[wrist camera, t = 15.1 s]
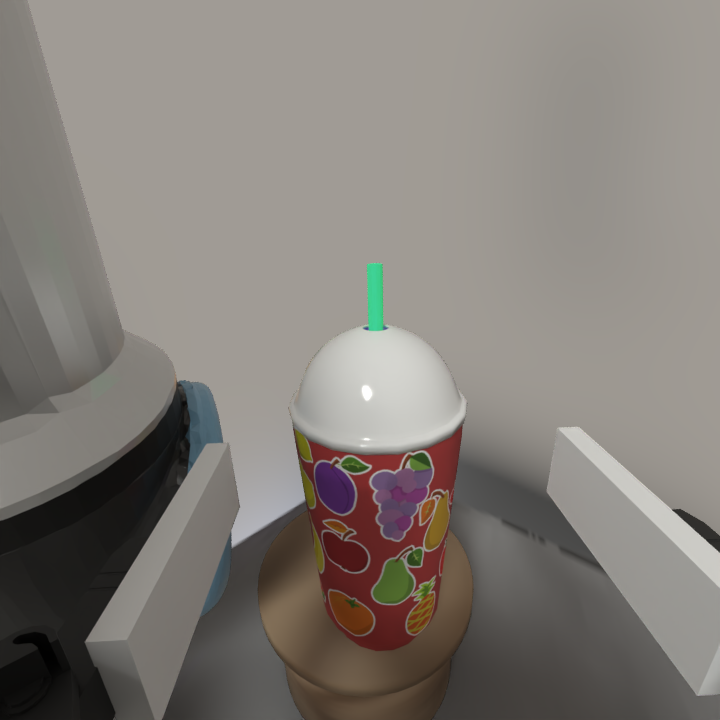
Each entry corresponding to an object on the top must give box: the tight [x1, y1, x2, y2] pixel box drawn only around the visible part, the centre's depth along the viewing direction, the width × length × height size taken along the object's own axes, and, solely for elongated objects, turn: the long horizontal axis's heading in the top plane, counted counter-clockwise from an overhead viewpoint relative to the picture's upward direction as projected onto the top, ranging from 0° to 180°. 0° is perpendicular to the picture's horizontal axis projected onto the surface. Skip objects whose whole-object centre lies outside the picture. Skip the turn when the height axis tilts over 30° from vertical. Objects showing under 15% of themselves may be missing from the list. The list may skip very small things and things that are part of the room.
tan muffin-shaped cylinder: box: [258, 510, 473, 720], centre depth 27 cm, size 14×14×8 cm
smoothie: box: [288, 263, 468, 651], centre depth 20 cm, size 8×8×20 cm
